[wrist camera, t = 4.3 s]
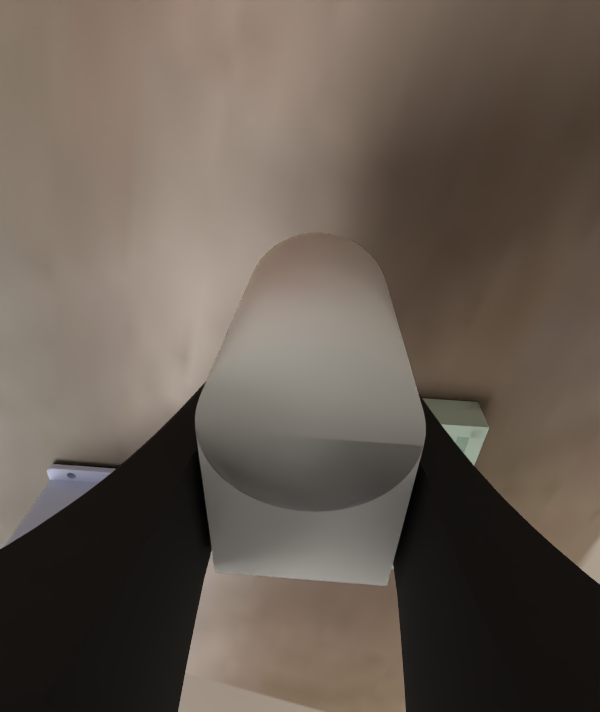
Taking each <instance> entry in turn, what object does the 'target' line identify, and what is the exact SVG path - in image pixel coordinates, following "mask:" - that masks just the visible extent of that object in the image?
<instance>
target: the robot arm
mask: <svg viewBox="0 0 600 712" xmlns="http://www.w3.org/2000/svg"><path fill="white" fill-rule="evenodd" d="M205 383H206V382H205ZM205 383H204V384H203V385H202V386H201V387H200V388H199V390H198V391H197V392H196V393H195V394H194V395H193V396H192V397H191V398H190V399H189V400H188V402H187V403H186V404H185V405H184V406H183V407H182V408H181V409H180V410H179V411H178V412H177V413H176V414H175V415H174V416H173V417H172V418H171V419H170V420H169V421H168V422H167V423H166V424H165V425H164V426H163V427H162V428H161V429H160V430H159V431H158V432H157V433H156V434H155V435H154V436H153V437H152V438H151V439H149V440H148V441H147V442H146V443H145V444H144V445H143V446H142V447H141V448H140V449H138V450H137V451H136V452H135V453H134V454H133V455H132V456H131V457H130V458H128V459H127V460H126V461H125V462H124V463H123V464H121V465H120V466H119V467H118V468H117V469H114V468H101V467H87V466H73V465H60V464H53V465H51V466H50V467H49V468H48V470H47V474H48V476H49V478H50V481H49V483H48V484H47V486H46V487H45V489H44V490H43V491H42V493H41V494H40V496H39V497H38V499H37V500H36V502H35V503H34V504H33V506H32V507H31V509H30V510H29V512H28V513H27V515H26V516H25V517H24V519H23V520H22V522H21V523H20V525H19V526H18V528H17V529H16V530H15V532H14V533H13V535H12V536H11V538H10V539H9V541H8V542H7V543H6V545H5V546H4V547H3V548H2V549H0V712H178V707H179V702H180V697H181V691H182V686H183V681H184V675H185V670H186V665H187V660H188V655H189V650H190V645H191V639H192V634H193V629H194V624H195V619H196V615H197V610H198V605H199V600H200V595H201V591H202V586H203V581H204V577H205V573H206V569H207V565H208V562H209V558H210V555H211V554H212V547H211V539H210V532H209V525H208V518H207V510H206V503H205V496H204V489H203V482H202V474H201V467H200V460H199V453H198V445H197V438H196V431H195V414H196V407H197V404H198V400H199V397H200V395H201V392H202V390H203V388H204V385H205ZM418 394H419V393H418ZM419 397H420V401H421V404H422V408H423V411H424V416H425V422H426V436H425V442H424V447H423V451H422V455H421V458H420V462H419V466H418V470H417V474H416V477H415V481H414V485H413V489H412V493H411V496H410V500H409V504H408V508H407V512H406V515H405V519H404V523H403V527H402V531H401V534H400V538H399V542H398V546H397V550H396V553H395V557H394V561H393V567H394V573H395V580H396V588H397V596H398V608H399V619H400V631H401V644H402V658H403V671H404V685H405V701H406V712H600V584H598V583H597V582H596V581H595V580H593V579H592V578H591V577H589V576H588V575H587V574H586V573H585V572H583V571H582V570H581V569H580V568H579V567H578V566H577V565H575V564H574V563H573V562H572V561H571V560H570V559H568V558H567V557H566V556H565V555H564V554H563V553H561V552H560V551H559V550H558V549H557V548H556V547H554V546H553V545H552V544H551V543H550V542H549V541H548V540H547V539H545V538H544V537H543V536H542V535H541V534H540V533H539V532H538V531H537V530H536V529H534V528H533V527H532V526H531V525H530V524H529V523H528V522H527V521H526V520H525V519H524V518H523V517H522V516H521V515H520V514H519V513H518V512H517V511H516V510H515V509H514V508H513V507H512V506H511V505H510V504H509V503H508V502H507V501H506V500H505V499H504V498H503V497H502V496H501V495H500V494H499V493H498V492H497V491H496V490H495V489H494V488H493V486H492V485H491V484H490V483H489V482H488V481H487V480H486V479H485V478H484V476H483V475H482V474H481V473H480V472H479V471H478V470H477V468H476V467H475V466H474V465H473V464H472V463H471V461H470V460H469V459H468V458H467V457H466V455H465V454H464V453H463V452H462V450H461V449H460V448H459V447H458V445H457V444H456V443H455V442H454V440H453V439H452V438H451V437H450V435H449V434H448V433H447V431H446V430H445V429H444V428H443V426H442V425H441V424H440V422H439V421H438V419H437V418H436V417H435V415H434V414H433V413H432V411H431V410H430V408H429V407H428V406H427V404H426V403H425V401H424V400H423V399H422V397H421V396H420V394H419Z"/></svg>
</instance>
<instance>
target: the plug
mask: <svg viewBox="0 0 600 712" xmlns="http://www.w3.org/2000/svg"><path fill="white" fill-rule="evenodd" d="M195 431H196V438H197V445H198V453H199V460H200V467H201V474H202V482H203V489H204V496H205V503H206V510H207V518H208V525H209V532H210V539H211V547H212V554H213V561H214V568H215V572H217V573H230V574H243V575H255V576H268V577H280V578H293V579H305V580H318V581H331V582H343V583H356V584H368V585H381V586H387V584H388V580H389V576H390V572H391V569H392V565H393V561H394V557H395V553H396V550H397V546H398V542H399V538H400V534H401V531H402V527H403V523H404V519H405V515H406V512H407V508H408V504H409V500H410V496H411V493H412V489H413V485H414V481H415V477H416V474H417V470H418V466H419V462H420V458H421V455H422V451H423V447H424V442H425V436H426V422H425V416H424V411H423V408H422V404H421V401H420V397H419V394H418V391H417V387H416V384H415V380H414V377H413V373H412V370H411V367H410V363H409V360H408V356H407V353H406V349H405V346H404V342H403V339H402V336H401V332H400V329H399V325H398V322H397V318H396V315H395V312H394V308H393V305H392V301H391V298H390V294H389V291H388V288H387V284H386V281H385V278H384V275H383V273H382V271H381V269H380V267H379V265H378V264H377V262H376V261H375V260H374V258H373V257H372V256H371V255H370V254H369V253H368V252H367V251H366V250H365V249H363V248H362V247H361V246H359V245H358V244H356V243H354V242H352V241H351V240H348V239H346V238H343V237H341V236H337V235H333V234H327V233H308V234H302V235H298V236H295V237H291V238H289V239H287V240H285V241H283V242H281V243H279V244H278V245H276V246H275V247H273V248H272V249H271V250H270V251H268V252H267V253H266V255H265V256H264V257H263V258H262V259H261V260H260V262H259V263H258V265H257V266H256V268H255V270H254V272H253V274H252V276H251V279H250V281H249V283H248V286H247V288H246V290H245V293H244V295H243V297H242V300H241V302H240V304H239V307H238V309H237V311H236V314H235V316H234V318H233V320H232V323H231V325H230V327H229V330H228V332H227V334H226V337H225V339H224V341H223V344H222V346H221V348H220V351H219V353H218V355H217V358H216V360H215V362H214V365H213V367H212V369H211V371H210V374H209V376H208V378H207V381H206V383H205V385H204V388H203V390H202V392H201V395H200V397H199V400H198V404H197V407H196V414H195Z"/></svg>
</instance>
